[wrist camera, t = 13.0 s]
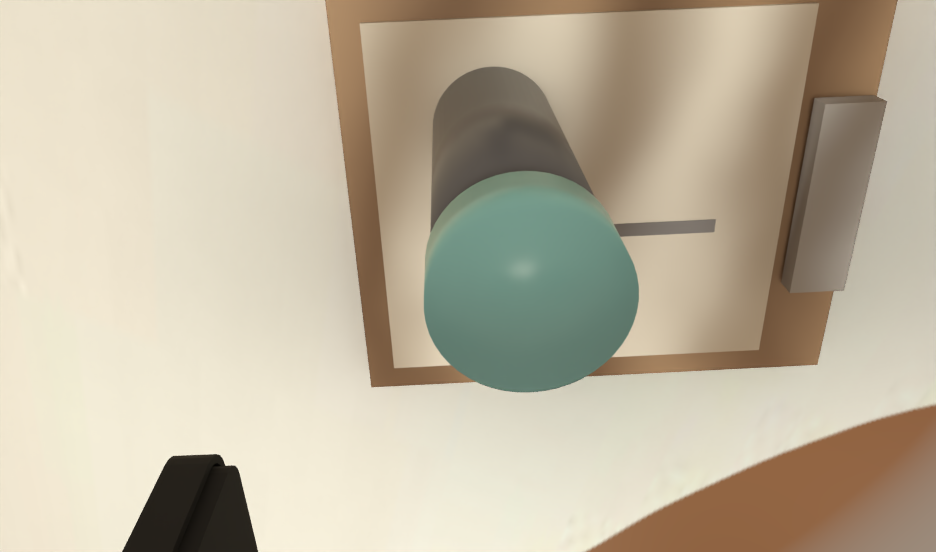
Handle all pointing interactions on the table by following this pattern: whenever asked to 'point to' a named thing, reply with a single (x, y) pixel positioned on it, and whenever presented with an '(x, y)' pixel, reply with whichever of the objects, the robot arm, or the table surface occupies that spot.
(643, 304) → the clipboard
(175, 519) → the robot arm
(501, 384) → the marker
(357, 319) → the table surface
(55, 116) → the table surface
